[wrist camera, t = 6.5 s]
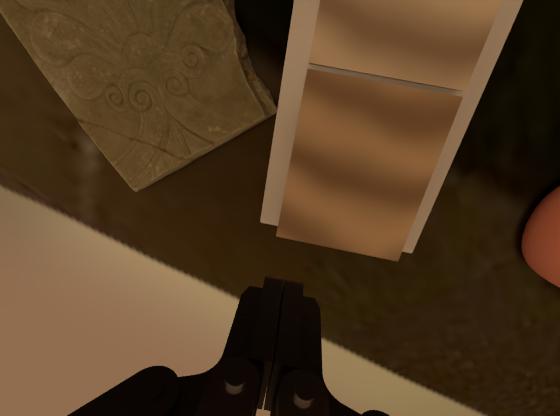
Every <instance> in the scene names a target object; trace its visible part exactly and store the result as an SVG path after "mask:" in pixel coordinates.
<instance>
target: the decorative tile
mask: <svg viewBox="0 0 560 416" xmlns="http://www.w3.org/2000/svg"><path fill="white" fill-rule="evenodd" d="M234 3H235V2H234V0H0V13H1V14H2V16H3V17H4V19H5V20H6V22H7V23H8V25H9V26H10V27H11V29H12V30H13V32H14V33H15V34H16V36H17V37H18V39H19V40H20V41H21V43H22V44H23V46H24V47H25V48H26V50H27V51H28V53H29V54H30V56H31V57H32V59H33V60H34V62H35V63H36V65H37V66H38V68H39V69H40V70H41V72H42V73H43V74H44V76H45V77H46V78H47V80H48V81H49V83H50V84H51V85H52V87H53V88H54V89H55V91H56V92H57V93H58V95H59V96H60V97H61V98H62V100H63V101H64V102H65V104H66V105H67V106H68V108H69V109H70V111H71V112H72V113H73V114H74V116H75V117H76V118H77V120H78V122H79V124H80V125H81V126H82V128H83V129H84V130H85V131H86V133H87V134H88V135H89V136H90V138H91V139H92V140H93V142H94V143H95V144H96V145H97V147H98V148H99V149H100V150H101V152H102V153H103V154H104V155H105V157H106V158H107V159H108V161H109V162H110V163H111V164H112V166H113V167H114V168H115V169H116V170H117V171H118V173H119V174H120V175H121V176H122V177H123V179H124V180H125V181H126V182H127V184H128V185H129V186H130V187H131V188H132V189H133V190H134V191H136V192H137V191H140V190H142V189H144V188H146V187H148V186H150V185H152V184H154V183H155V182H157V181H159V180H161V179H163V178H164V177H166V176H167V175H169V174H171V173H173V172H175V171H177V170H179V169H181V168H183V167H184V166H186V165H188V164H189V163H191V162H193V161H194V160H196V159H197V158H199V157H201V156H203V155H204V154H206V153H208V152H210V151H212V150H214V149H215V148H217V147H219V146H221V145H223V144H225V143H227V142H228V141H230V140H232V139H233V138H235V137H236V136H238V135H240V134H242V133H243V132H245V131H247V130H249V129H251V128H252V127H254V126H256V125H258V124H259V123H261V122H263V121H264V120H266V119H268V118H269V117H271V116H273V115H275V114H276V113H277V107H276V105H275V103H274V99H273V97H272V95H271V92H270V91H269V89H267V87H266V86H265V84H264V83H263V82H262V81H261V79H260V78H258V77H257V76H256V73H255V70H254V68H253V67H252V63H251V59H250V57H249V55H248V50H247V47H246V37H245V35H244V34H243V32H242V31H241V29H240V26H239V24H238V22H237V20H236V15H235V6H234Z"/></svg>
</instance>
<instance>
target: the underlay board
mask: <svg viewBox="0 0 560 416" xmlns="http://www.w3.org/2000/svg"><path fill="white" fill-rule="evenodd" d="M522 2H523V0H503V1H502V4H501V6H500V8H499V11H498V13H497V16H496V18H495V21H494V23H493V25H492V28H491V30H490V33H489V35H488V37H487V40H486V42H485V45H484V47H483V49H482V52H481V54H480V57H479V59H478V62H477V64H476V66H475V69H474V71H473V74H472V76H471V78H470V81H469V83H468V86H467V88H466V90H465V91H457V90H451V89H446V88H440V87H435V86H429V85H424V84H418V83H413V82H407V81H402V80H396V79H391V78H385V77H380V76H374V75H369V74H363V73H358V72H352V71H347V70H341V69H336V68H330V67H325V66H319V65H314V64H309V58H310V53H311V47H312V42H313V37H314V31H315V26H316V21H317V15H318V10H319V4H320V0H294V5H293V12H292V18H291V25H290V31H289V38H288V44H287V51H286V57H285V64H284V70H283V77H282V83H281V90H280V96H279V102H278V109H277V115H276V122H275V128H274V135H273V141H272V148H271V154H270V161H269V167H268V174H267V180H266V187H265V193H264V200H263V206H262V213H261V219H260V222H261V223H266V224H271V225H276V226H278V223H279V218H280V212H281V207H282V202H283V196H284V191H285V186H286V180H287V175H288V170H289V164H290V159H291V154H292V149H293V143H294V138H295V133H296V127H297V122H298V117H299V111H300V106H301V101H302V95H303V90H304V85H305V79H306V74H307V69H313V70H319V71H324V72H330V73H335V74H341V75H346V76H352V77H357V78H363V79H368V80H374V81H379V82H384V83H390V84H395V85H401V86H406V87H412V88H417V89H423V90H428V91H434V92H439V93H445V94H450V95H456V96H461V97H463V99H462V101H461V104H460V106H459V109H458V111H457V114H456V116H455V119H454V121H453V124H452V126H451V129H450V131H449V134H448V136H447V139H446V142H445V144H444V147H443V149H442V152H441V154H440V157H439V159H438V162H437V164H436V167H435V169H434V172H433V174H432V177H431V179H430V182H429V184H428V187H427V189H426V192H425V195H424V197H423V200H422V202H421V205H420V207H419V210H418V212H417V215H416V217H415V220H414V222H413V225H412V227H411V230H410V232H409V235H408V237H407V240H406V243H405V245H404V248H403V250H402V251H403V252H408V253H412V252H413V250H414V247H415V245H416V243H417V241H418V238H419V236H420V234H421V232H422V229H423V227H424V225H425V222H426V220H427V218H428V216H429V213H430V211H431V209H432V207H433V204H434V202H435V200H436V197H437V195H438V193H439V191H440V188H441V186H442V184H443V182H444V179H445V177H446V175H447V172H448V170H449V168H450V166H451V163H452V161H453V159H454V157H455V154H456V152H457V150H458V147H459V145H460V143H461V141H462V138H463V136H464V134H465V132H466V129H467V127H468V125H469V122H470V120H471V118H472V116H473V113H474V111H475V109H476V107H477V104H478V102H479V100H480V97H481V95H482V93H483V91H484V88H485V86H486V84H487V81H488V79H489V77H490V75H491V72H492V70H493V68H494V66H495V63H496V61H497V59H498V56H499V54H500V52H501V50H502V47H503V45H504V43H505V41H506V38H507V36H508V34H509V31H510V29H511V27H512V25H513V22H514V20H515V18H516V16H517V13H518V11H519V9H520V6H521V4H522Z"/></svg>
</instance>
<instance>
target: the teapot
mask: <svg viewBox="0 0 560 416" xmlns="http://www.w3.org/2000/svg"><path fill="white" fill-rule="evenodd" d="M522 253H523V256H524V258H525V260H526V262H527V264H528V265H529V266H530V267H531V268H532V269H533V270H534V271H535V272H536V273H537V274H539V275H540V276H541V277H543V278H544V279H546V280H547V281H549V282H551V283H552V284H554V285H556V286H558V287H560V186H559V187H557V188H555V189H554V190H553V191H551V192H550V193H549V194H548V195H547V196H546V197H545V198H544V199H543V200H542V201H541V202H540V203H539V204H538V206H537V207H536V208H535V210H534V211H533V213H532V214H531V216H530V218H529V220H528V222H527V224H526V227H525V229H524V233H523V237H522Z"/></svg>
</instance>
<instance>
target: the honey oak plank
mask: <svg viewBox="0 0 560 416" xmlns="http://www.w3.org/2000/svg"><path fill="white" fill-rule="evenodd" d="M462 99H463V97H461V96H456V95H450V94H445V93H439V92H434V91H428V90H423V89H417V88H412V87H406V86H401V85H395V84H390V83H384V82H379V81H374V80H368V79H363V78H357V77H352V76H346V75H341V74H335V73H330V72H324V71H319V70H313V69H307V74H306V79H305V85H304V90H303V95H302V101H301V106H300V111H299V117H298V122H297V127H296V133H295V138H294V143H293V149H292V154H291V159H290V164H289V170H288V175H287V180H286V186H285V191H284V196H283V202H282V207H281V212H280V218H279V223H278V228H277V234H276V236H277V237H281V238H286V239H291V240H296V241H301V242H306V243H311V244H315V245H320V246H325V247H330V248H335V249H340V250H344V251H349V252H354V253H359V254H364V255H369V256H373V257H378V258H383V259H388V260H393V261H398V260H399V258H400V255H401V253H402V250H403V248H404V245H405V243H406V240H407V237H408V235H409V232H410V230H411V227H412V225H413V222H414V220H415V217H416V215H417V212H418V210H419V207H420V205H421V202H422V200H423V197H424V195H425V192H426V189H427V187H428V184H429V182H430V179H431V177H432V174H433V172H434V169H435V167H436V164H437V162H438V159H439V157H440V154H441V152H442V149H443V147H444V144H445V142H446V139H447V136H448V134H449V131H450V129H451V126H452V124H453V121H454V119H455V116H456V114H457V111H458V109H459V106H460V104H461V101H462Z"/></svg>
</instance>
